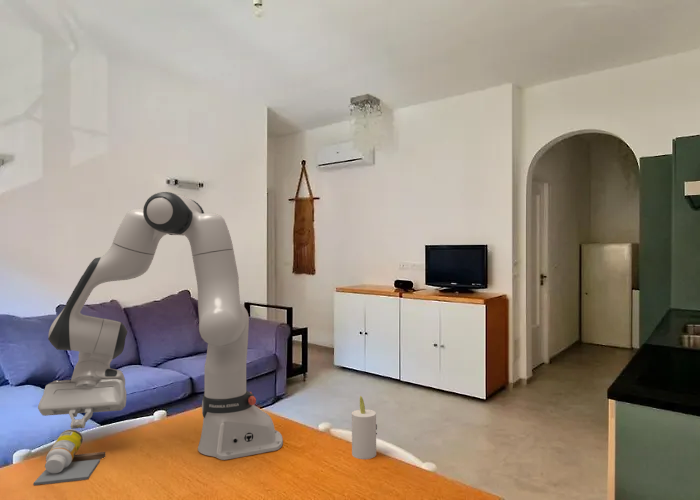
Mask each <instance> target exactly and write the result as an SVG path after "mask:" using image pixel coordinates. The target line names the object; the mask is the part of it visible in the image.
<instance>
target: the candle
mask: <svg viewBox="0 0 700 500" xmlns="http://www.w3.org/2000/svg"><path fill="white" fill-rule="evenodd" d="M365 406H366V405H365V402H364V399H363V396H361V395H360V396H359V409H355V410H353V411H352V412H351V455H352V457H353V458H355V459H359V460H370V459H372V458H375V457H376V456H377V435H378V432H377V431H378V424H377V412H376V411H375V410H372V409H366V407H365Z"/></svg>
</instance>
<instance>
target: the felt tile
mask: <svg viewBox="0 0 700 500" xmlns="http://www.w3.org/2000/svg"><path fill="white" fill-rule="evenodd" d="M100 462H101V459H96V460H86V461H77V462H71V463H70V464H69V465H68V466H67V467H66V468H63V470H62V471H61V472H59V473H50V472H48V471H47V470H46V469H44V471H43V472H41V474H40V475H39V476H38V478H36V480H35V481H33V484H32V485H34V486H41V485H40V484H43V485H50V484H59V483H68V482H77V481H85V480H89V479H90V477H91V475H92V474H93V472H94V471H95V470H96V468H97V467H98V465H99V464H100Z"/></svg>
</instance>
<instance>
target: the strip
mask: <svg viewBox="0 0 700 500" xmlns="http://www.w3.org/2000/svg"><path fill="white" fill-rule="evenodd" d="M104 457H106V451H98V452H97V451H96V452H87V453H76V454H75V456H74V458H73V460H72V461H71V462H77V461H86V460H96V459H100V460H103V459H102V458H104ZM104 459H105V458H104Z"/></svg>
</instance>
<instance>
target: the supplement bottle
mask: <svg viewBox="0 0 700 500" xmlns="http://www.w3.org/2000/svg"><path fill="white" fill-rule="evenodd" d="M83 441H84V436H83V434H82V433H81V432H80V431H79V430H78V429H71V428H70V429H66V430H64V431H62V432H61V433H60V435H59V436H58V437H57V439H56V440H55V442H54V443H53V445H52V447H51V448H50V449H49V451H48V453H47V455H46V457H45V461H46V462H45V464H44V468H45V470H47V471H48V472H50V473H59V472H61V471H62V470H63V468H66V467H67V466H68V465H69V464H70V463H71V461H72V460H73V458H74V456H75V455H77V454H78V450H79V449H80V447H81V445H82V443H83Z"/></svg>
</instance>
